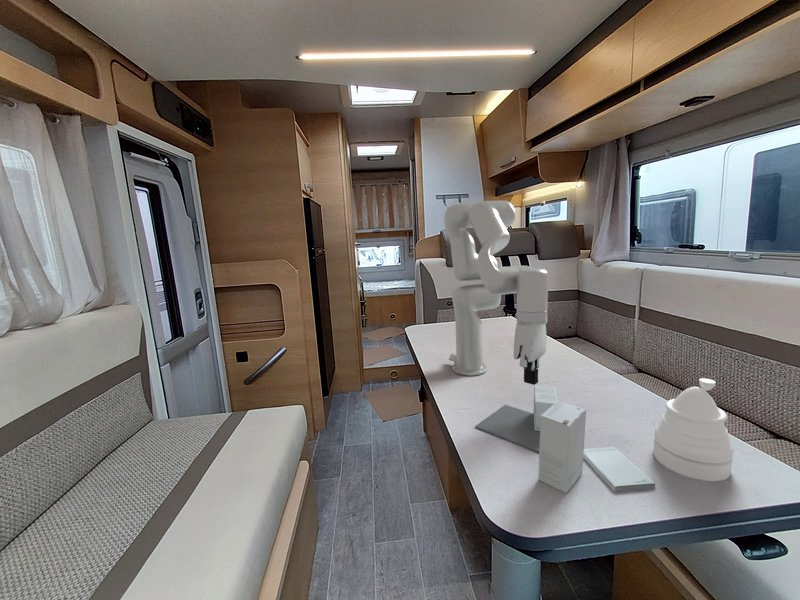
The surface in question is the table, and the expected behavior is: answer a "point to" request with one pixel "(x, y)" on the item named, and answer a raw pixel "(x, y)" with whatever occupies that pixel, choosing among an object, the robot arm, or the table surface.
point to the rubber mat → (513, 427)
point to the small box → (543, 402)
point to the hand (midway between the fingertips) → (530, 382)
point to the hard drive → (616, 469)
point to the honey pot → (694, 436)
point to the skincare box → (561, 445)
